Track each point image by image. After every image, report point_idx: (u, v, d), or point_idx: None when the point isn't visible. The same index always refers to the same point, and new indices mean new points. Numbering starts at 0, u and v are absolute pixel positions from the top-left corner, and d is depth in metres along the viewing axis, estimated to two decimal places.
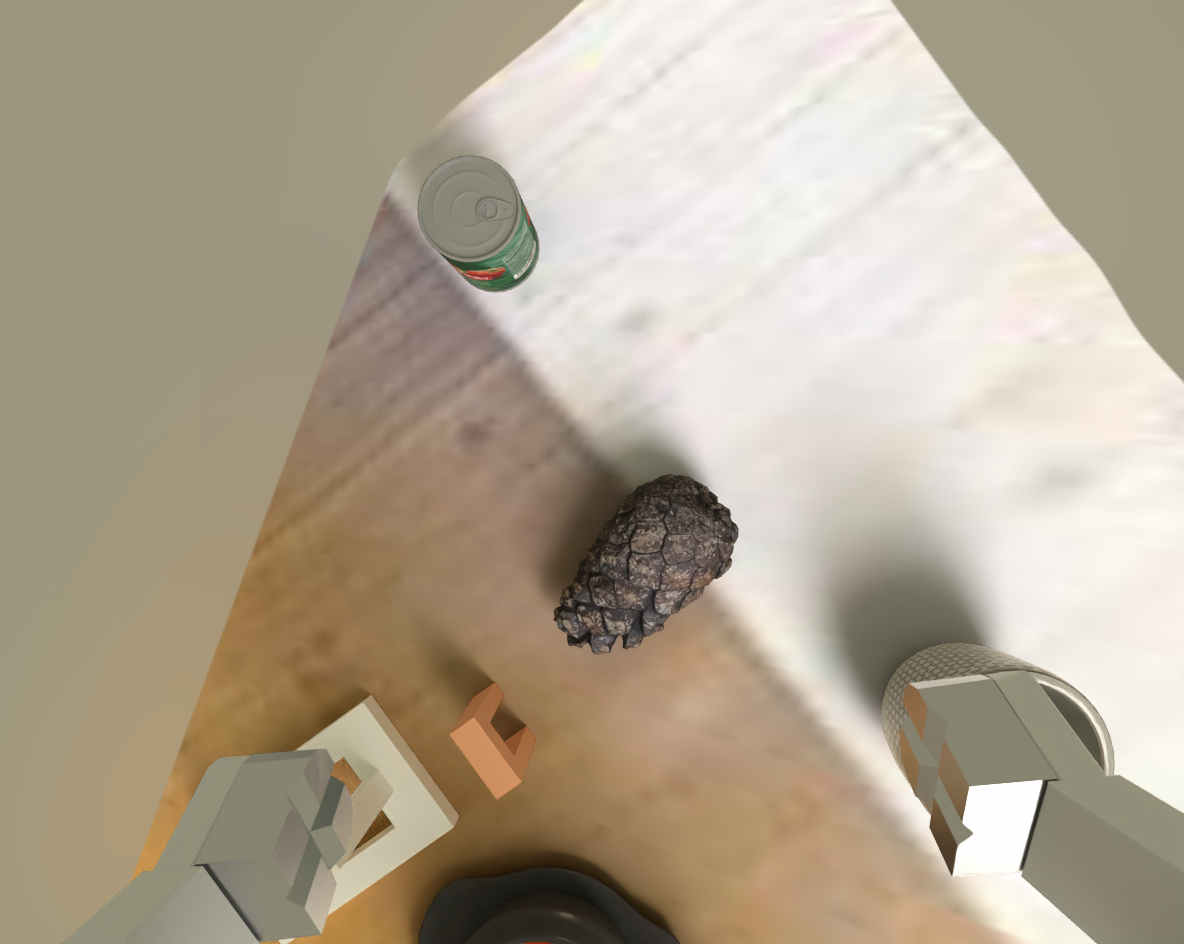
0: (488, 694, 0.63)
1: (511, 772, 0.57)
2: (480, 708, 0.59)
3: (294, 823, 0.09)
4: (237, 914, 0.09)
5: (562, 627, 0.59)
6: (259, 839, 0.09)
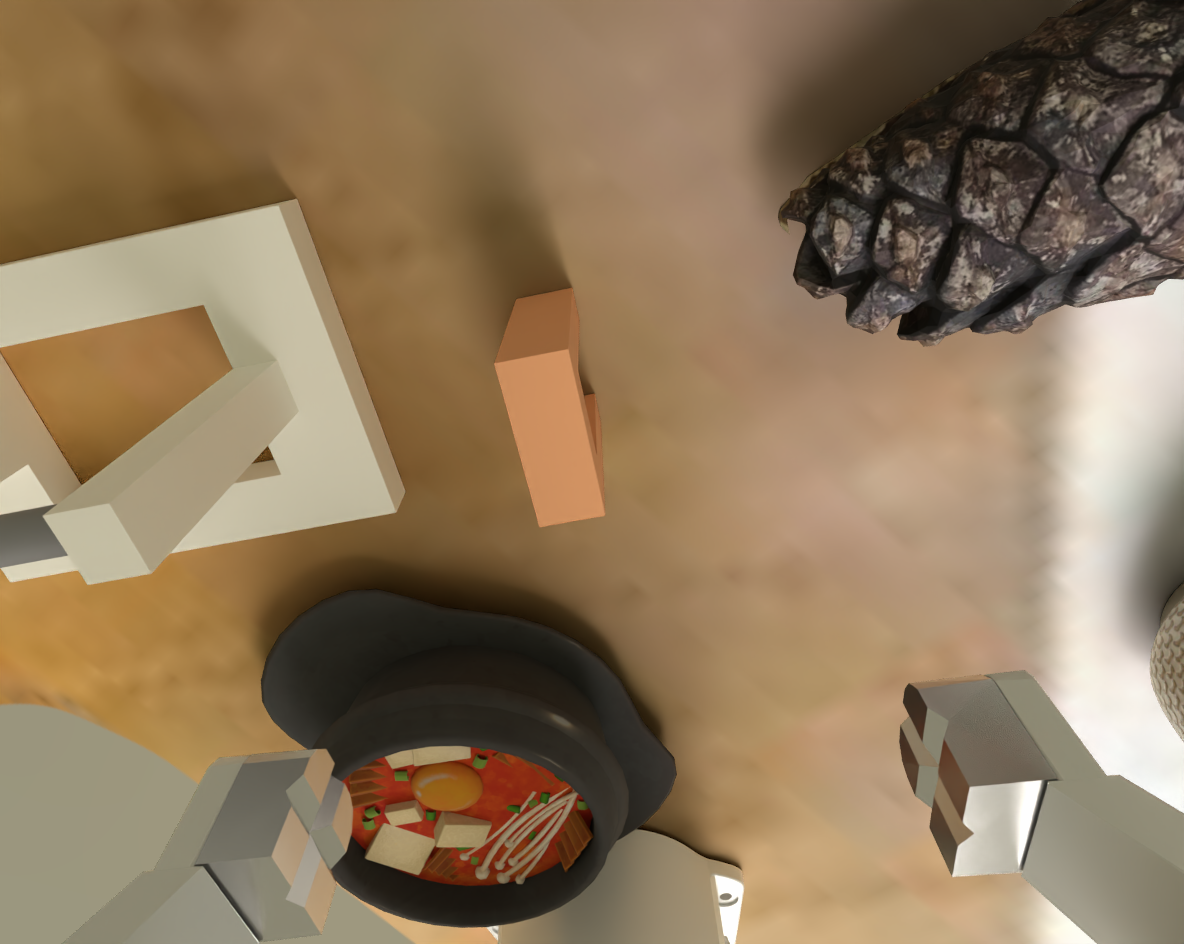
0: (571, 308, 0.28)
1: (595, 491, 0.26)
2: (570, 333, 0.25)
3: (294, 823, 0.09)
4: (238, 914, 0.09)
5: (822, 235, 0.24)
6: (259, 839, 0.09)
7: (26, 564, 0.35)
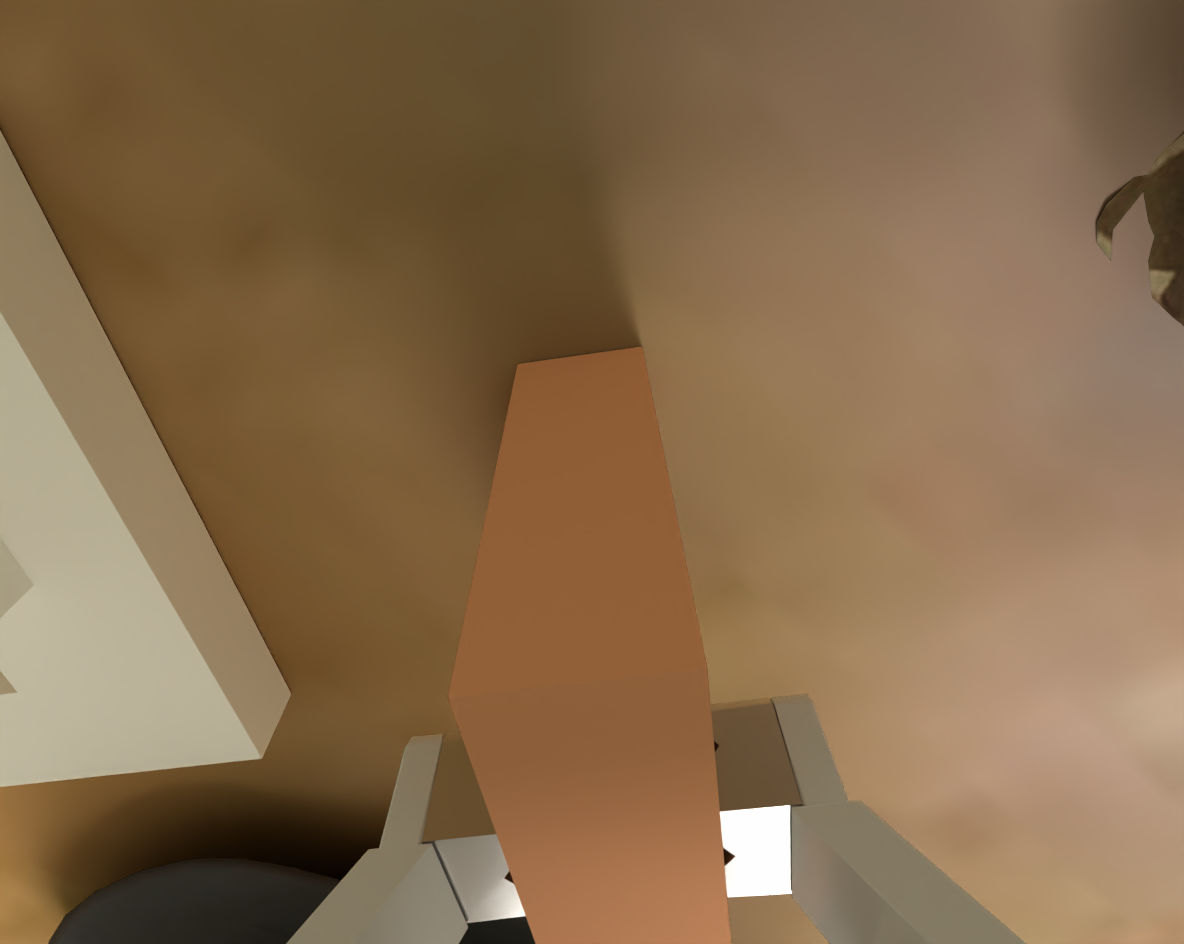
0: None
1: None
2: None
3: None
4: (453, 894, 0.09)
5: None
6: (483, 816, 0.08)
7: None
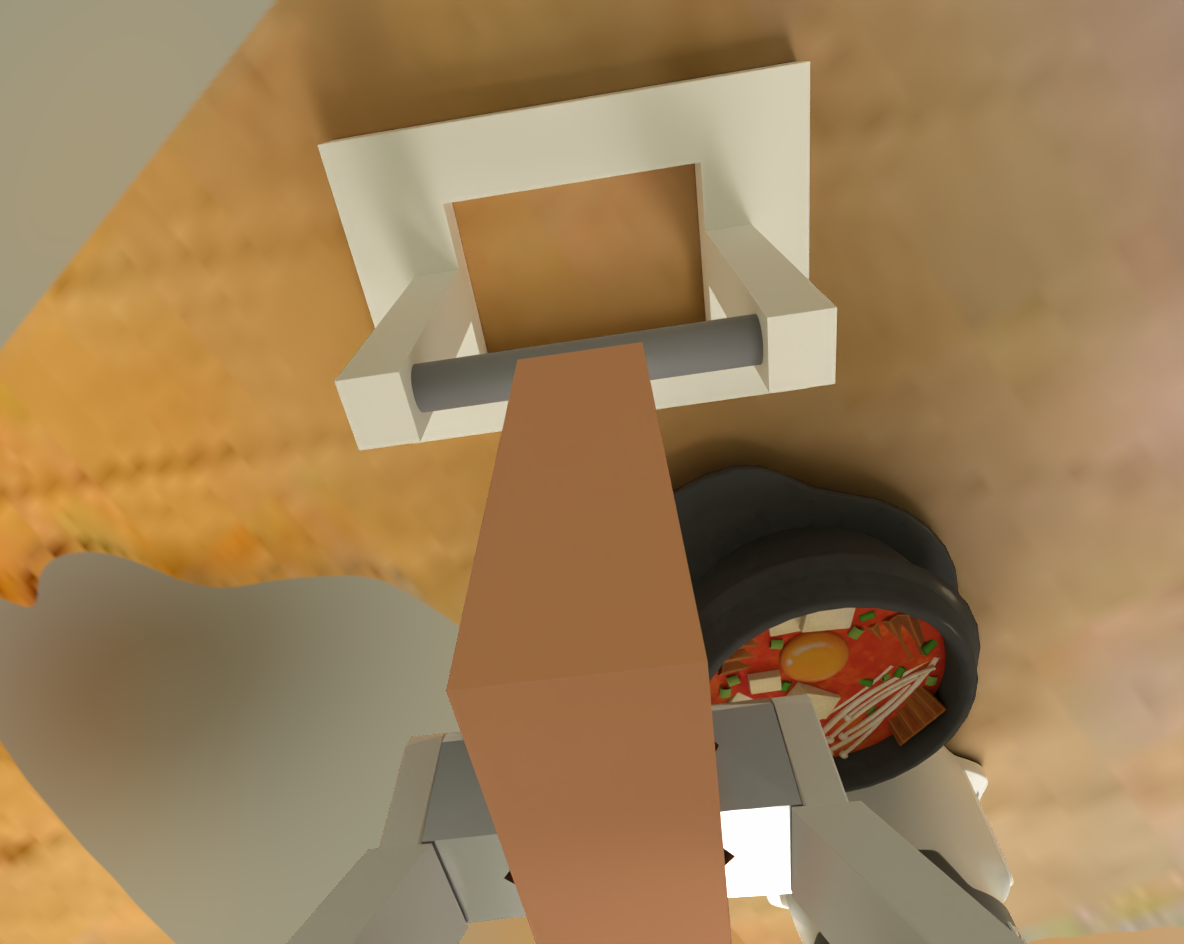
0: None
1: None
2: None
3: None
4: (452, 893, 0.09)
5: None
6: (483, 816, 0.08)
7: (433, 425, 0.36)
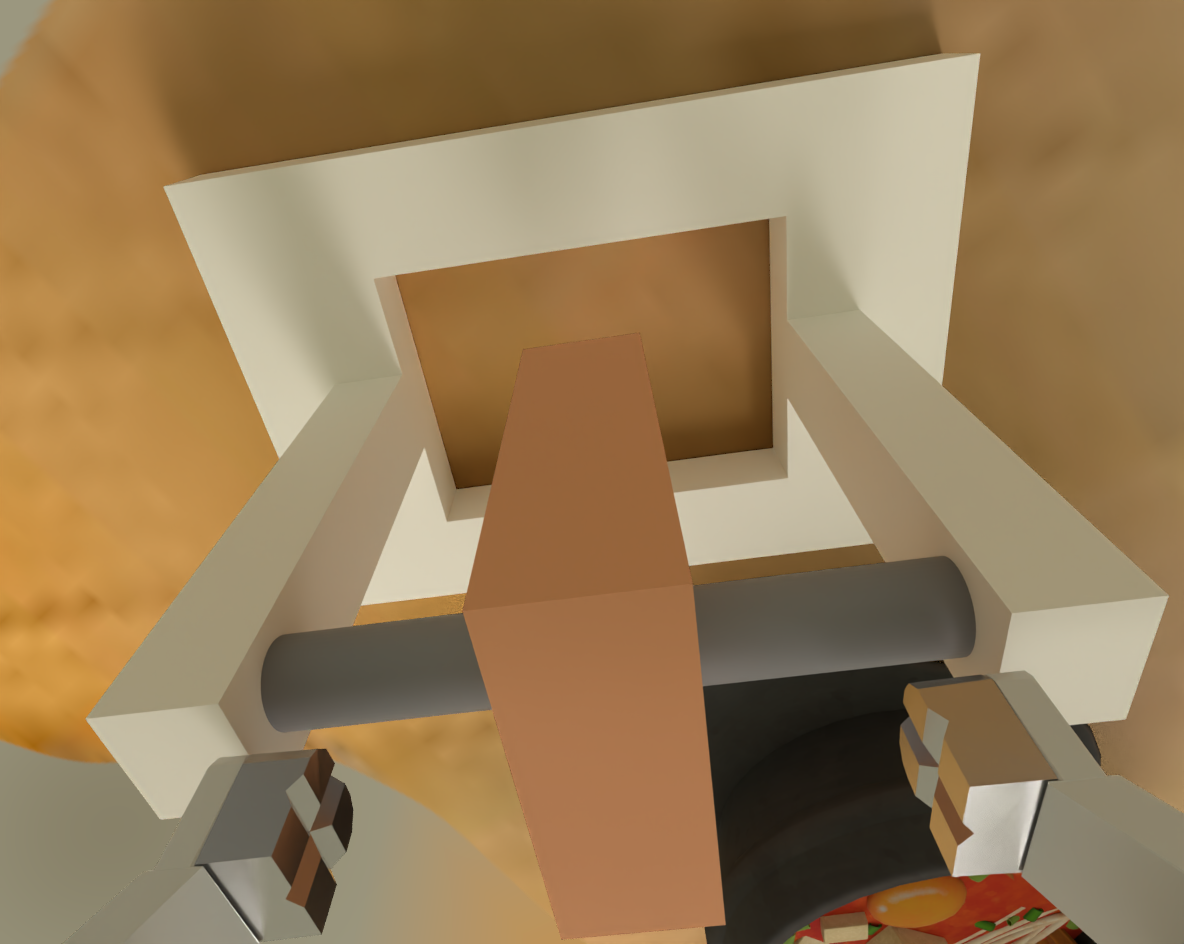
0: None
1: (710, 883, 0.10)
2: None
3: (294, 823, 0.09)
4: (238, 914, 0.09)
5: None
6: (259, 839, 0.09)
7: (373, 585, 0.24)
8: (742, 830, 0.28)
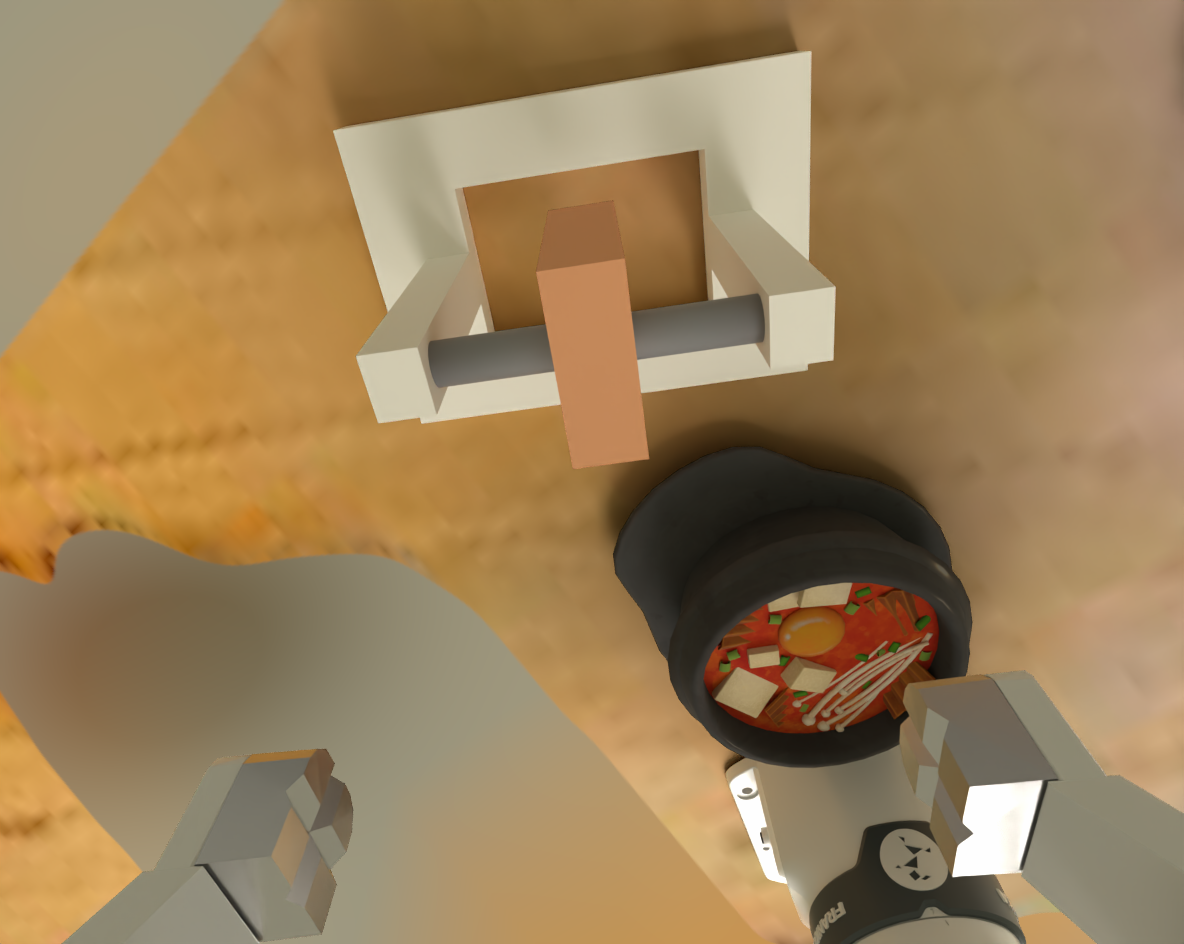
0: None
1: (640, 430, 0.22)
2: None
3: (294, 823, 0.09)
4: (238, 914, 0.09)
5: None
6: (259, 839, 0.09)
7: (443, 406, 0.37)
8: (693, 591, 0.40)
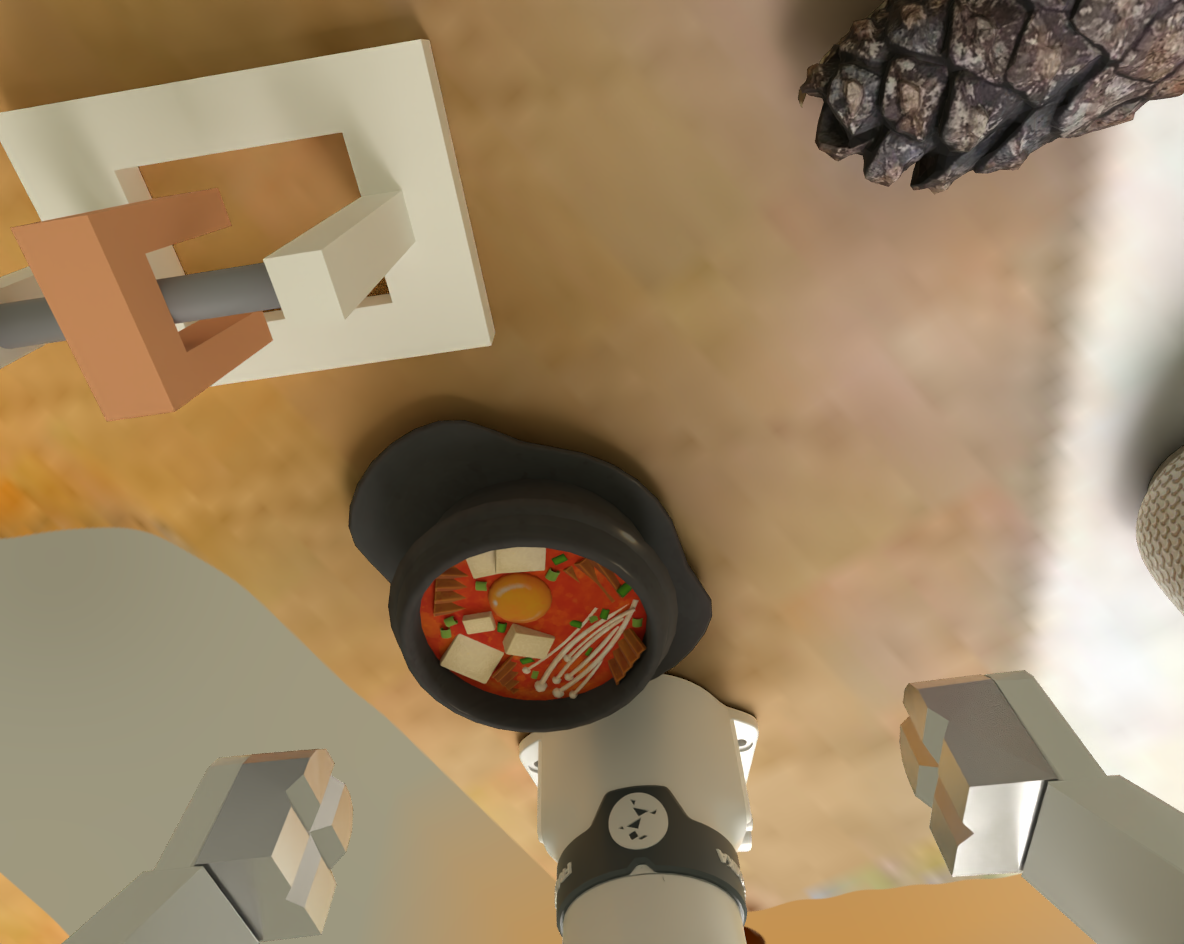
0: (180, 198, 0.26)
1: (157, 382, 0.24)
2: (129, 210, 0.24)
3: (294, 823, 0.09)
4: (238, 914, 0.09)
5: (837, 99, 0.29)
6: (259, 839, 0.09)
7: None
8: None
